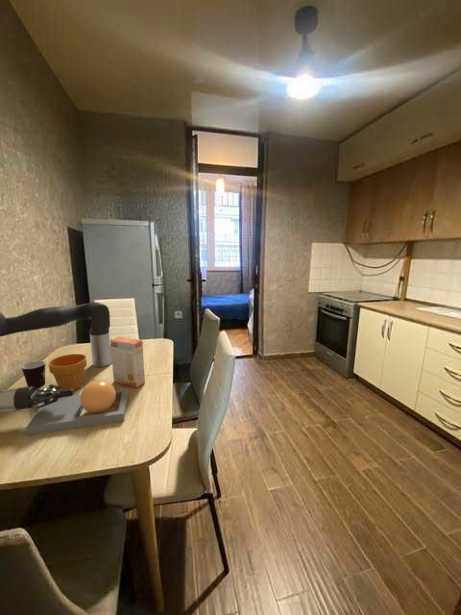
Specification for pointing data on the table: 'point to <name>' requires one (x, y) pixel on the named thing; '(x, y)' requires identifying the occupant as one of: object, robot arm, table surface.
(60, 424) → the tray
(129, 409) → the table surface
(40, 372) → the coffee mug
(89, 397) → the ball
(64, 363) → the flower pot
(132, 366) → the cracker box
